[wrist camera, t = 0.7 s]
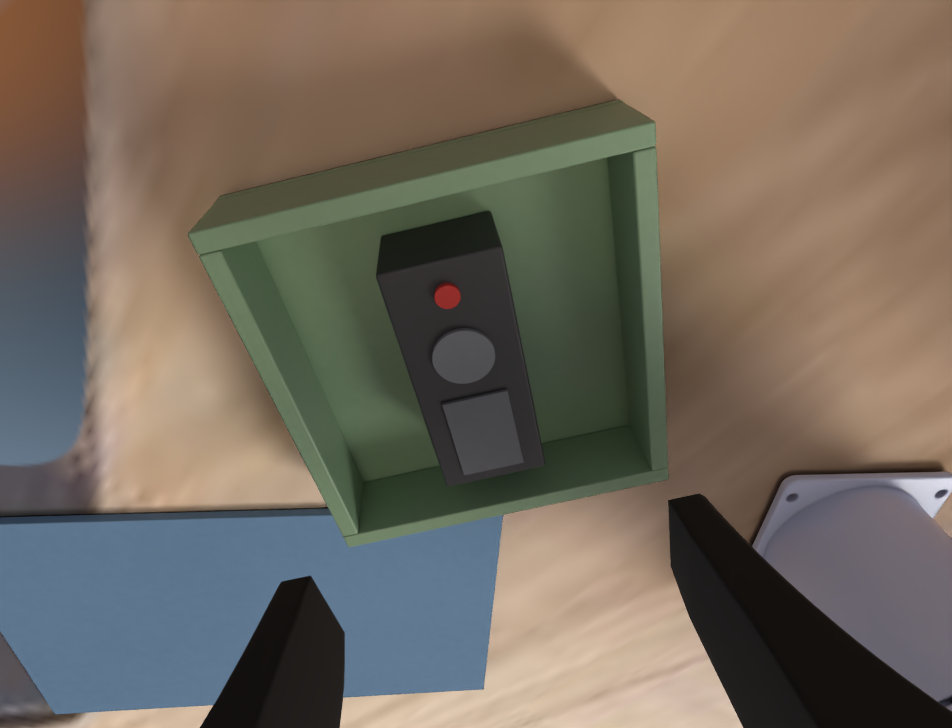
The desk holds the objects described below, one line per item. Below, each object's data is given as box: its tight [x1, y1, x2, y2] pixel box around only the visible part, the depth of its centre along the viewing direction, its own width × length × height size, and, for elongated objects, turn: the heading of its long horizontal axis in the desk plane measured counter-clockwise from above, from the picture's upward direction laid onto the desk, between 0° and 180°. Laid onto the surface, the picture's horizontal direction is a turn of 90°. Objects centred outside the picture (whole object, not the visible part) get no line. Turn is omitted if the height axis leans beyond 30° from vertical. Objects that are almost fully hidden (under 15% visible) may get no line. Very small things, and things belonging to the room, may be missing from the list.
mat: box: [0, 508, 503, 714], centre depth 28 cm, size 14×22×1 cm, turn 87°
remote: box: [376, 211, 545, 486], centre depth 19 cm, size 8×3×3 cm, turn 12°
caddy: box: [188, 99, 669, 547], centre depth 19 cm, size 12×12×3 cm
